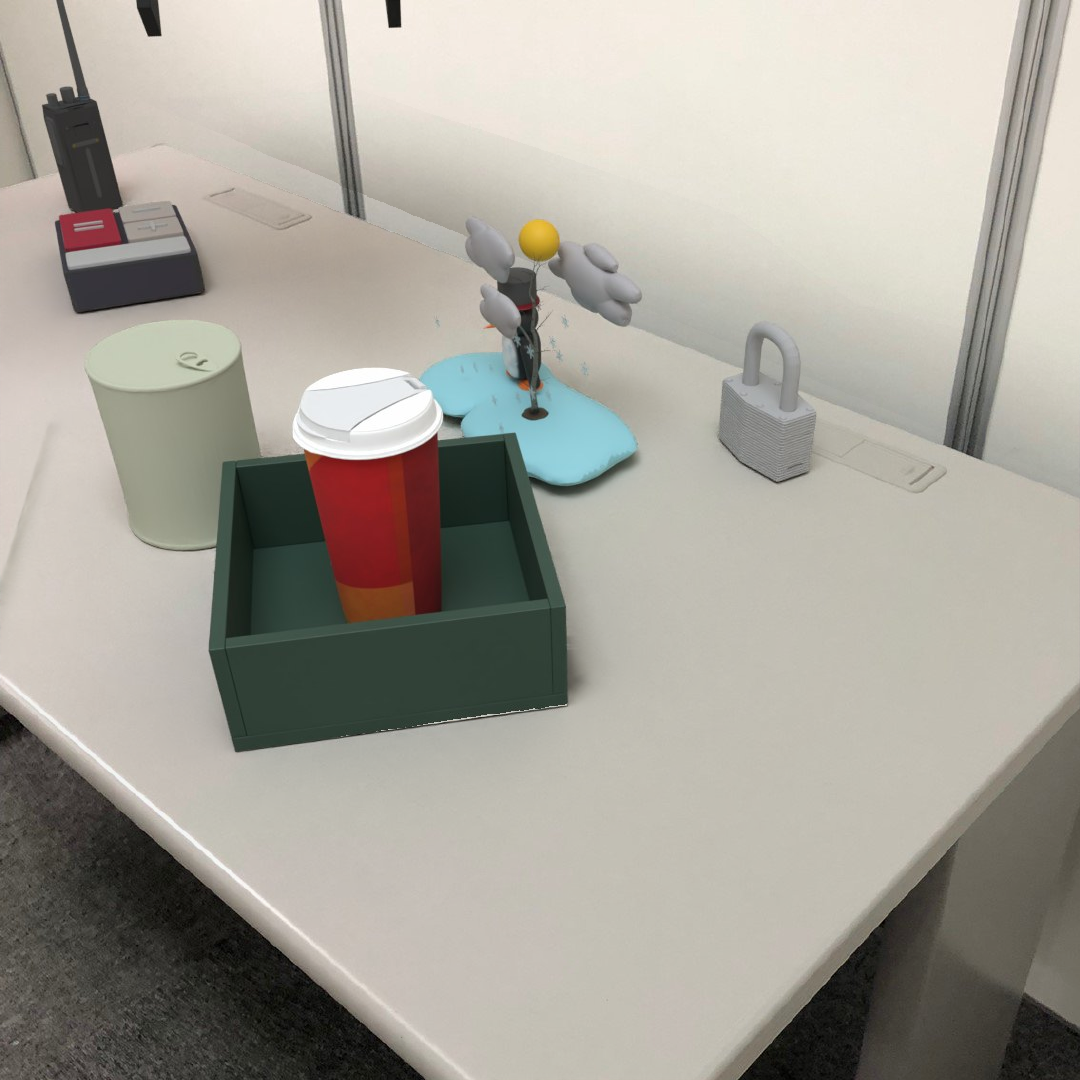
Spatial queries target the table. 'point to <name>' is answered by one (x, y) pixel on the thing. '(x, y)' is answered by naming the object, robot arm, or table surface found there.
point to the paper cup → (376, 488)
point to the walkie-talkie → (80, 140)
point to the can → (173, 424)
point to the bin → (394, 643)
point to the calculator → (127, 256)
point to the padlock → (768, 410)
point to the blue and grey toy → (537, 358)
